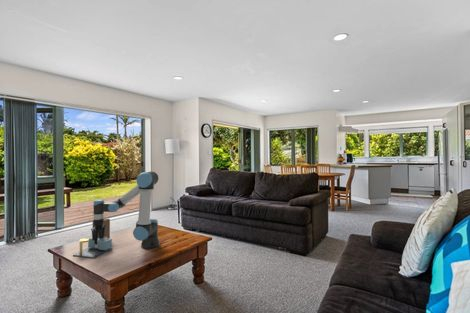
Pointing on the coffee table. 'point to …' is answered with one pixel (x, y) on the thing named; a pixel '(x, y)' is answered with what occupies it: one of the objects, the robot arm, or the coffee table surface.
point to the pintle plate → (90, 250)
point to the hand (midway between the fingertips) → (98, 247)
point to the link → (100, 243)
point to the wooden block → (106, 228)
